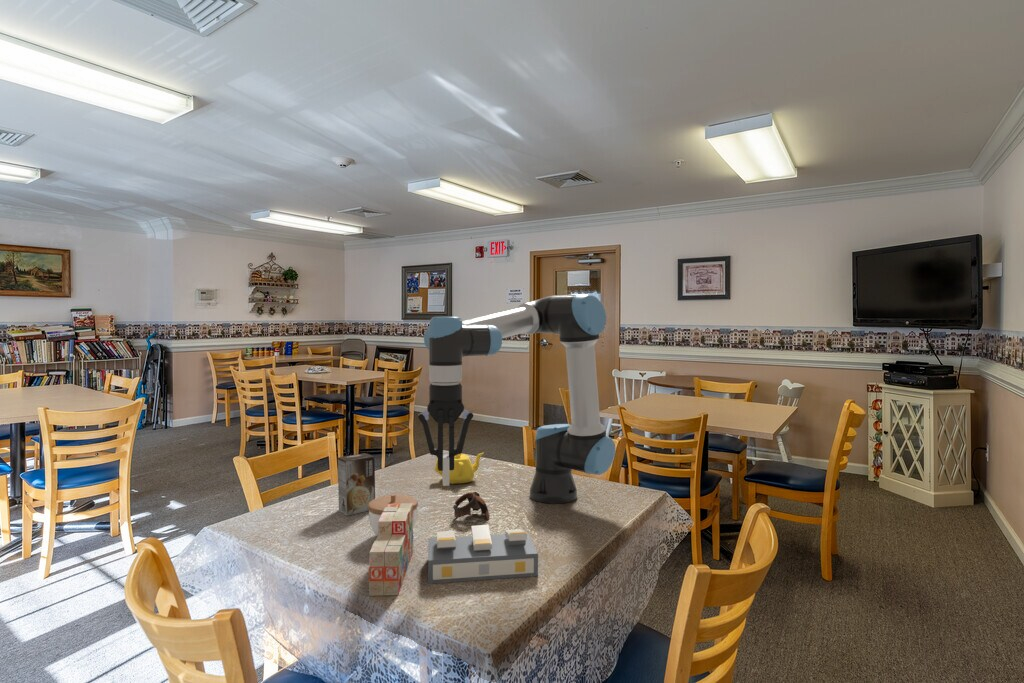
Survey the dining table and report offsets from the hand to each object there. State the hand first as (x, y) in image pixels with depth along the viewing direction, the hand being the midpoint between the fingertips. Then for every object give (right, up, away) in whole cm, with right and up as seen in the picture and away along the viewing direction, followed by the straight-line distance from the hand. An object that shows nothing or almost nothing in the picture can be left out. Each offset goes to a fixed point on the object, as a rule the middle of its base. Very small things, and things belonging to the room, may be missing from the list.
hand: (445, 483), depth 125 cm
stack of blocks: (-11, -19, -5) cm, 22 cm away
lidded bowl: (-16, -18, +15) cm, 28 cm away
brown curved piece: (+4, -18, +30) cm, 35 cm away
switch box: (+8, -18, -2) cm, 20 cm away
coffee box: (-31, -17, +35) cm, 50 cm away
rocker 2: (+8, -12, -2) cm, 15 cm away
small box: (+16, -12, -1) cm, 20 cm away
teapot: (-3, -16, +67) cm, 69 cm away
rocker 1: (+1, -12, -4) cm, 13 cm away
